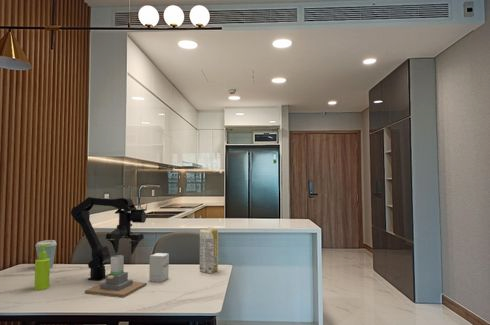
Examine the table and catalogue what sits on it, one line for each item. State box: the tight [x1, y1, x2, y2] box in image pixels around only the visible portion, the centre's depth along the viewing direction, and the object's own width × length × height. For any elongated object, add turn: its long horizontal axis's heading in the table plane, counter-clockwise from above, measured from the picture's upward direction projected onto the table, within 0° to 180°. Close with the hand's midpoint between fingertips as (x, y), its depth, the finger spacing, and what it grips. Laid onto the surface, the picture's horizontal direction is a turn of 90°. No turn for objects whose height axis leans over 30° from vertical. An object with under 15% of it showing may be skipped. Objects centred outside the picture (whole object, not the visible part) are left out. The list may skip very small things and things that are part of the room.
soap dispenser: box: [34, 244, 52, 291], centre depth 163 cm, size 6×7×20 cm
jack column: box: [109, 254, 125, 275], centre depth 162 cm, size 4×4×10 cm
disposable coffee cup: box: [35, 239, 58, 269], centre depth 200 cm, size 11×11×15 cm
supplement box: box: [148, 252, 170, 283], centre depth 177 cm, size 7×7×13 cm
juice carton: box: [199, 226, 219, 274], centre depth 194 cm, size 9×8×24 cm
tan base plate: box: [84, 271, 148, 298], centre depth 162 cm, size 20×18×7 cm
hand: (124, 253), depth 177 cm, fingers open, 9 cm apart
